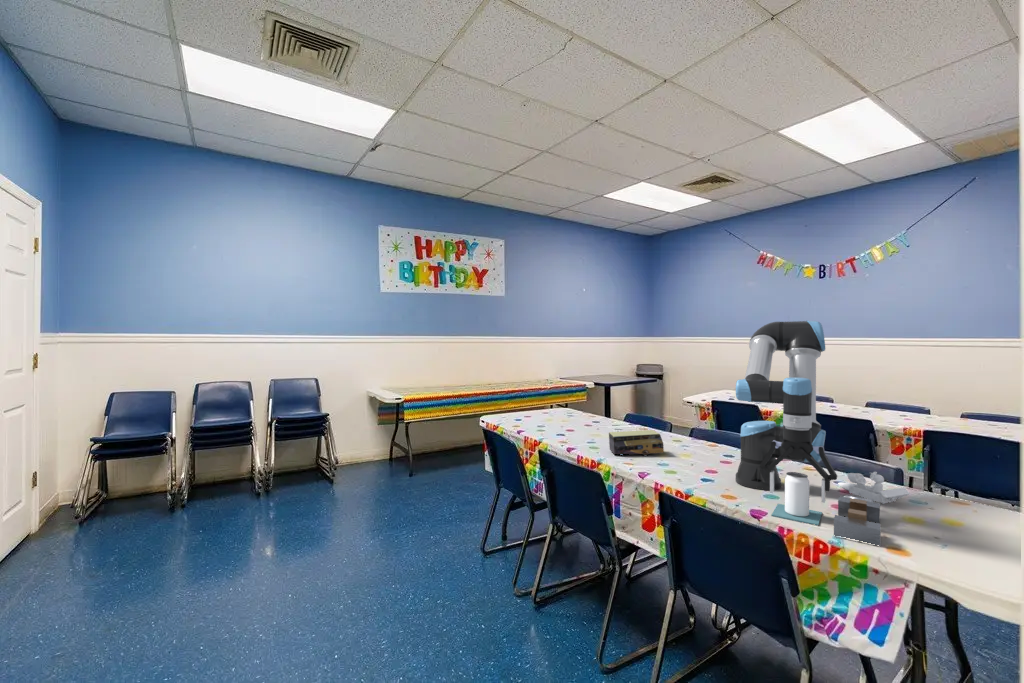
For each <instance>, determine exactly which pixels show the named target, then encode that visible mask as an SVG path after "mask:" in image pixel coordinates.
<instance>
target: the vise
mask: <svg viewBox="0 0 1024 683" xmlns="http://www.w3.org/2000/svg"><path fill="white" fill-rule="evenodd" d="M837 500H838V501H837V514H834V517H833V536H834V535H835V536H841V537H846V538H850V539H855V540H859V541H863V542H867V543H871V544H875V545H879V546H880V547H881V535H882V534H881V530H882V528H881V516H880V514H881V512H880V511H881V510H880V509H881V507H880V506H881V505H880V503H879V502H875V501H873V500H870V499H866V498H863V497H860V496H852V495H844V496H838V499H837ZM844 516H846V517H844ZM869 521H871V522H869ZM875 522H876V523H875Z"/></svg>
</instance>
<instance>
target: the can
mask: <svg viewBox="0 0 1024 683" xmlns="http://www.w3.org/2000/svg"><path fill="white" fill-rule="evenodd" d="M784 505H785V511H786V513H788V514H790V515H793V516H797V517H807V516H808V515H809V510H810V480H809V478H808V475H807V474H805V473H802V472H797V471H789V472H786V475H785V477H784Z"/></svg>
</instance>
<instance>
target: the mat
mask: <svg viewBox="0 0 1024 683" xmlns="http://www.w3.org/2000/svg"><path fill="white" fill-rule="evenodd" d="M822 514H823V511H820V510H819V511H818V510H813V509H809V515H808V516H807V517H797V516H793V515H790V514H788V513H786V511H785V504H782V503H777V505H776V506H775V508H774V510H773V512H772V513H771V517H775V518H779V519H784V520H789V521H794V522H799V523H802V522H804V523H803V524H807V523H809V525H812V524H815V525H814V526H817V525H819V526H820V522H821V518H822Z"/></svg>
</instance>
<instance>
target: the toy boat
mask: <svg viewBox="0 0 1024 683" xmlns="http://www.w3.org/2000/svg"><path fill="white" fill-rule="evenodd" d="M847 478H848V481H849V482H841V481H840V482H838V483H837V484H838V486H840V487H841V488H843V489H844V490H846V491H848V493H849V494H851V493H852V494H851V495H854V494H855V496H858V495H859V496H858V497H860V496H861V498H863V497H864V499H866V498H867V499H870V500H873V502H875V501H876V502H875V503H881V504H886V503H888V502H889V503H893V501H894V503H895V502H896V499H897V500H899V499H901V498H904V497H907V496H909V495H910V494H911V493H910V491H908V489H907V488H906V487H900V488H899V487H897V488H891V489H884V486H883V483H884V481H885V478H884V476H882V475H881V474H878V472H877V471H873V472H870V475H869V478H870V479H871V481H874V482H875V483H874V484H873V485H866V484H867V479H866V478H865V477H864V475H863V474H862V473H858V472H857V473H854V472H850V473H849V472H848V474H847ZM883 489H884V490H883Z"/></svg>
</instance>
